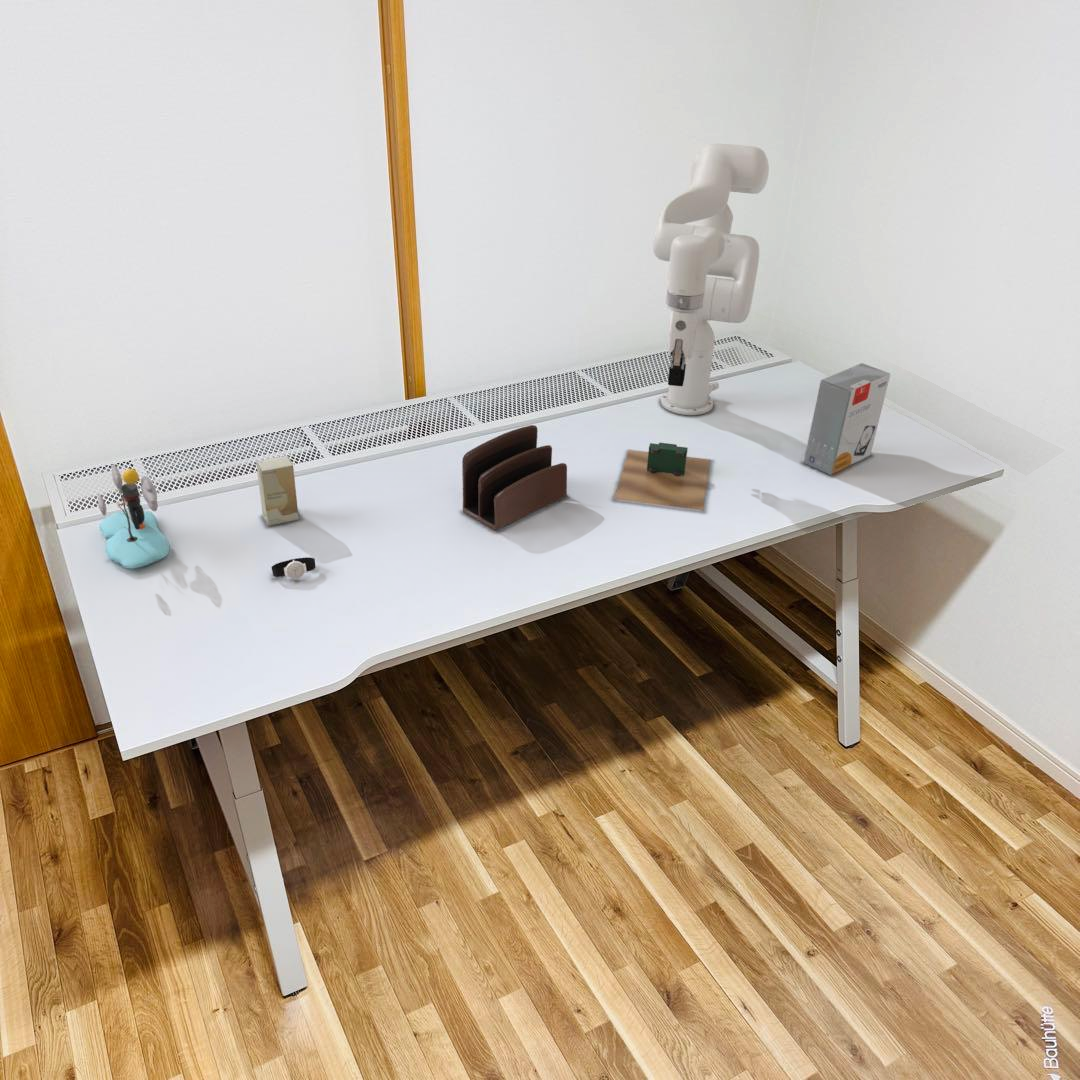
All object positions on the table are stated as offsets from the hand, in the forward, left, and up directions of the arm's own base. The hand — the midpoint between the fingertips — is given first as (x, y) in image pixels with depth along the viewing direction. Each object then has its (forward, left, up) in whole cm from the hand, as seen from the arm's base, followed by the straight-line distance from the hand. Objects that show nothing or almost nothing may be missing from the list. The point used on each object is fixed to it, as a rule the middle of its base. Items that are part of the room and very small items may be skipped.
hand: (675, 382), depth 209 cm
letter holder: (+40, -6, -17) cm, 44 cm away
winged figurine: (+103, -41, -17) cm, 113 cm away
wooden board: (+10, +7, -17) cm, 21 cm away
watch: (+86, -14, -17) cm, 89 cm away
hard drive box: (-27, +26, -17) cm, 41 cm away
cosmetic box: (+78, -32, -17) cm, 86 cm away
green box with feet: (+7, +5, -17) cm, 19 cm away
